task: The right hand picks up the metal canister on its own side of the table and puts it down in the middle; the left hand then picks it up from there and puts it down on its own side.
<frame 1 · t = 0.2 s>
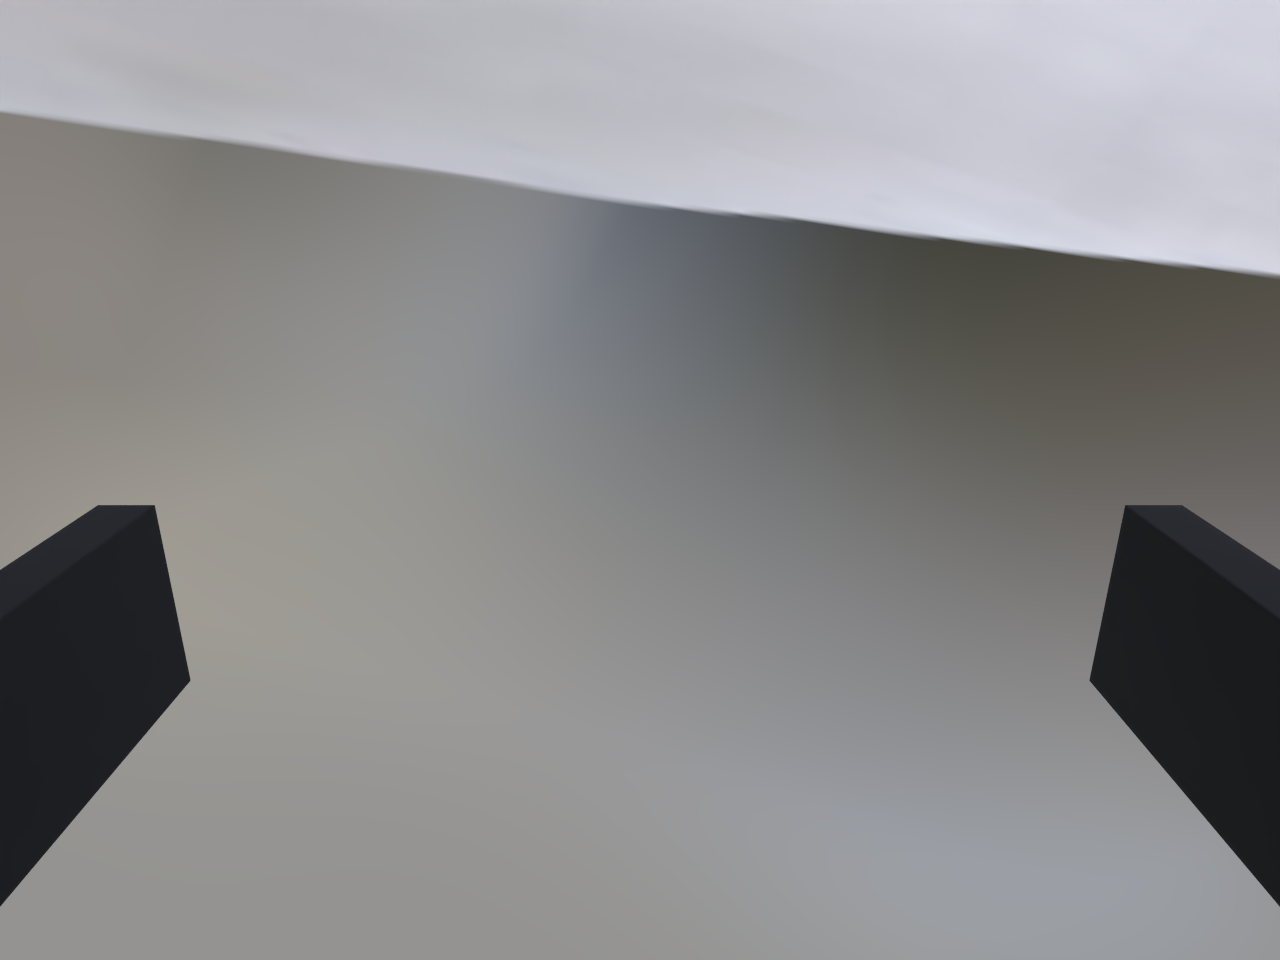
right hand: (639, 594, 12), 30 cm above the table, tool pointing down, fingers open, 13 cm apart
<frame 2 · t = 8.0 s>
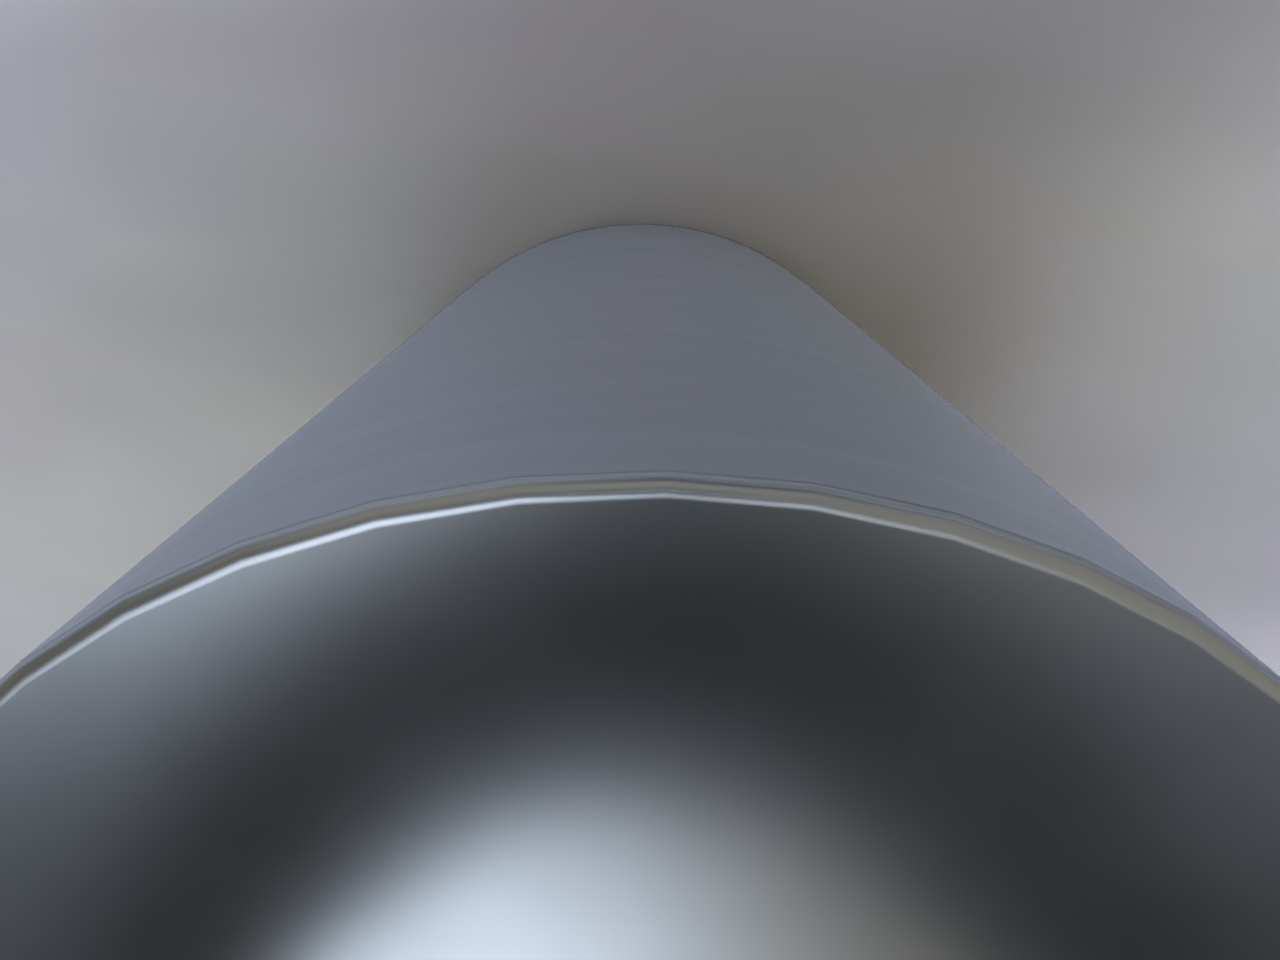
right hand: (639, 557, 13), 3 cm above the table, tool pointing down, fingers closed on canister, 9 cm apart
canister: (640, 478, 17), on the table, touching right hand
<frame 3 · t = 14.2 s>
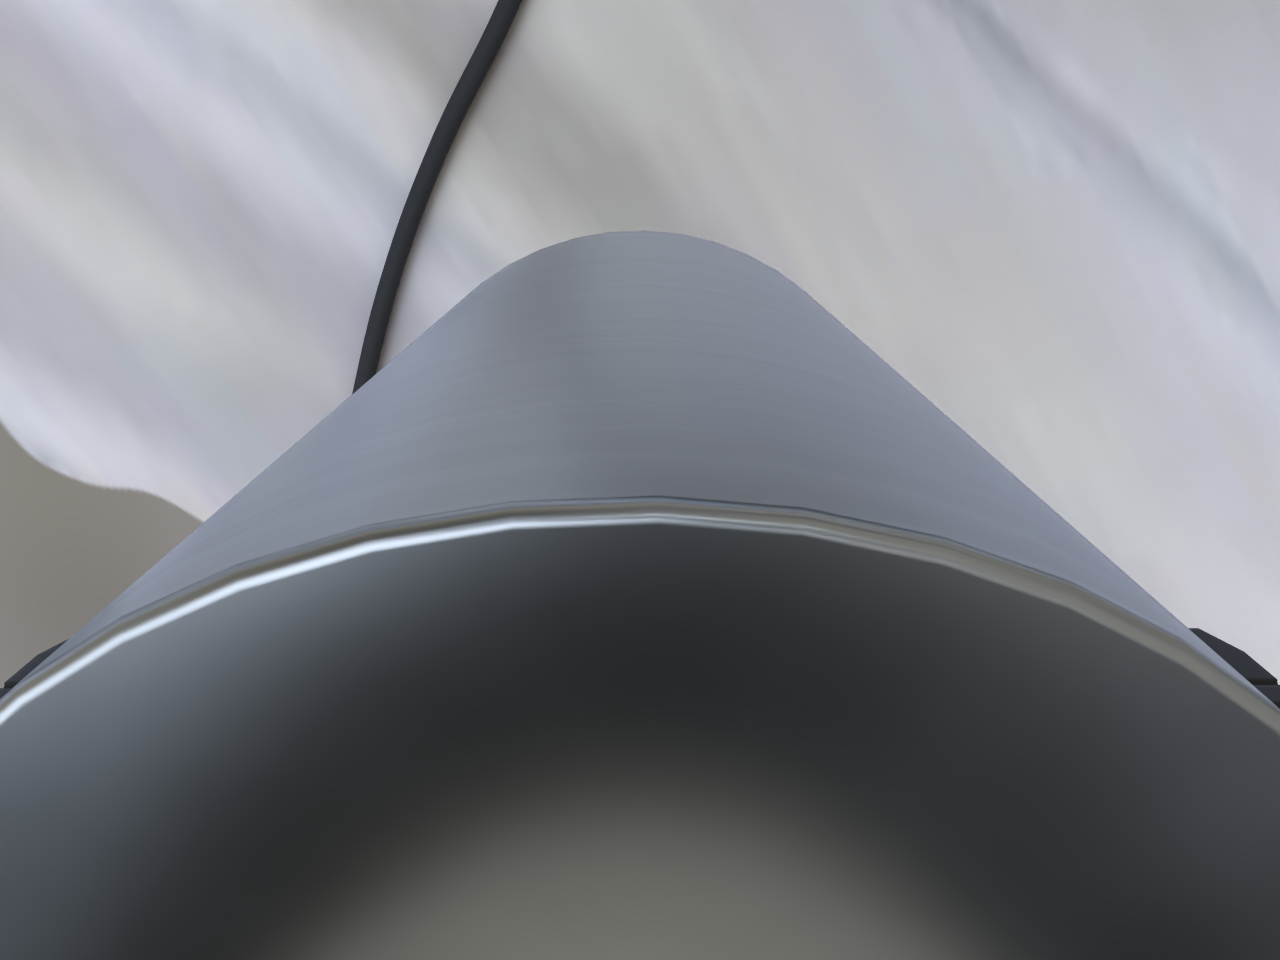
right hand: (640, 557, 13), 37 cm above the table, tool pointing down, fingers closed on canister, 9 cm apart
canister: (638, 483, 17), point 34 cm above the table, touching right hand
when the right hand's fingers open (5 cm above the table, at t = 20.5 s): canister drops 2 cm, on the table.
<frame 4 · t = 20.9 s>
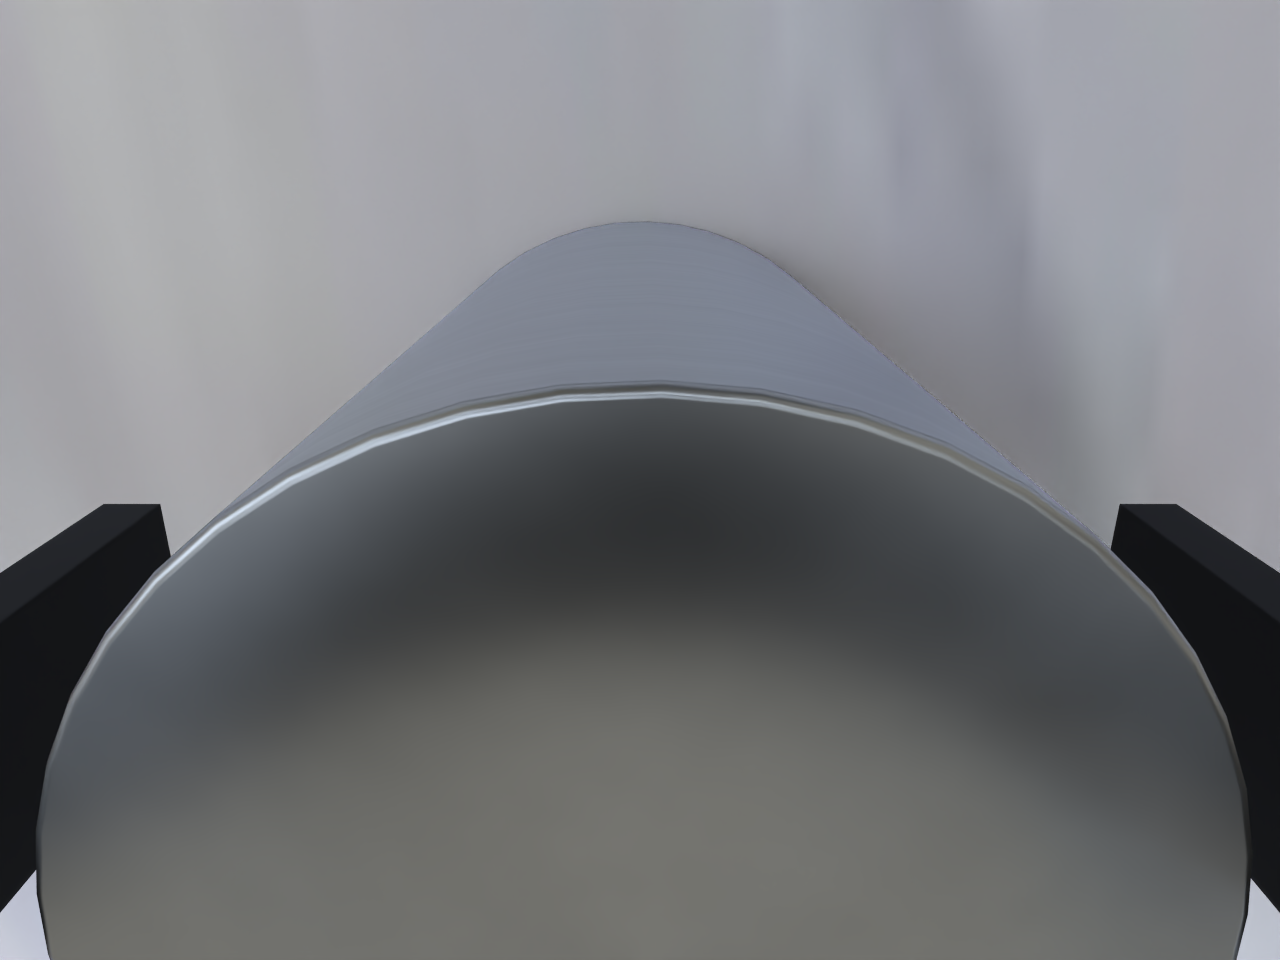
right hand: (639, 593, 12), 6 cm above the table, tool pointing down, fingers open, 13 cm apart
canister: (641, 452, 18), on the table
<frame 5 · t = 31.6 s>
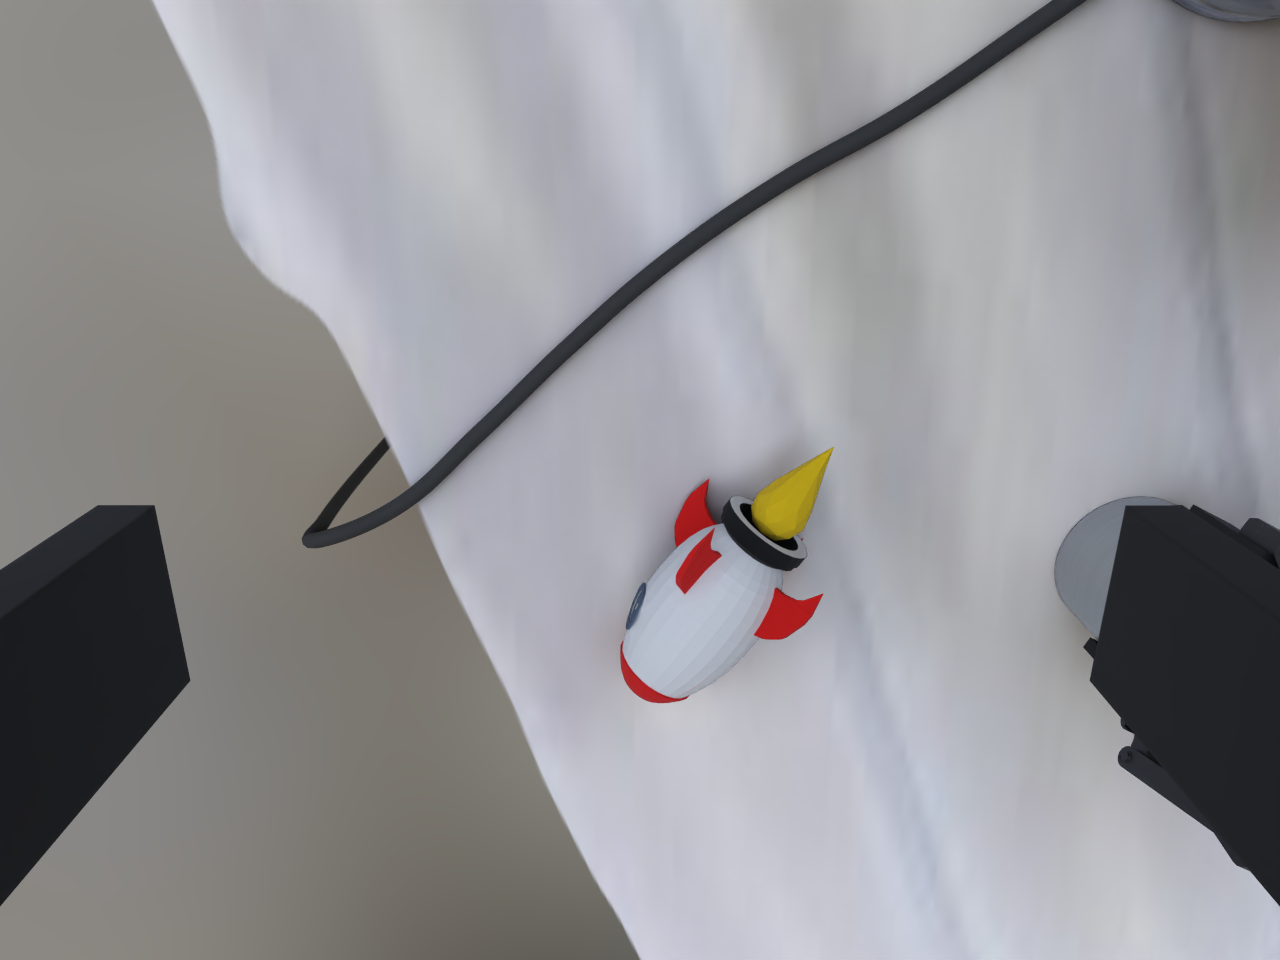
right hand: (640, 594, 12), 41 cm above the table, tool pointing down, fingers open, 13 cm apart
toy rocket 2: (722, 549, 57), on the table
canister: (1126, 562, 57), on the table, touching left hand
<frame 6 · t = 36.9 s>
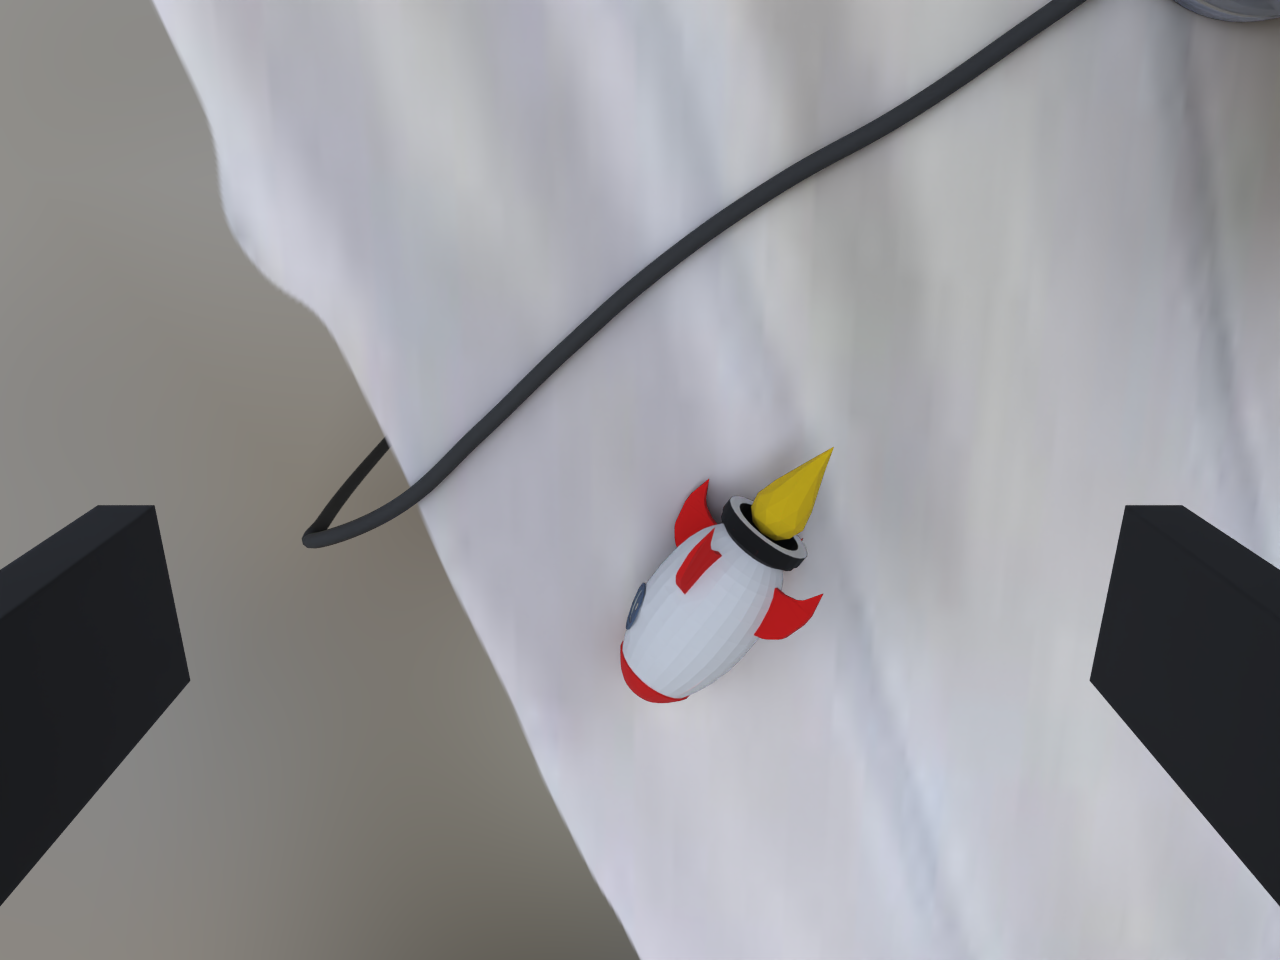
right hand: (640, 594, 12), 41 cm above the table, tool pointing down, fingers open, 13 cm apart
toy rocket 2: (722, 549, 57), on the table
when the left hand's fingers open (5 cm above the table, at t = 42.5 s): canister drops 2 cm, on the table.
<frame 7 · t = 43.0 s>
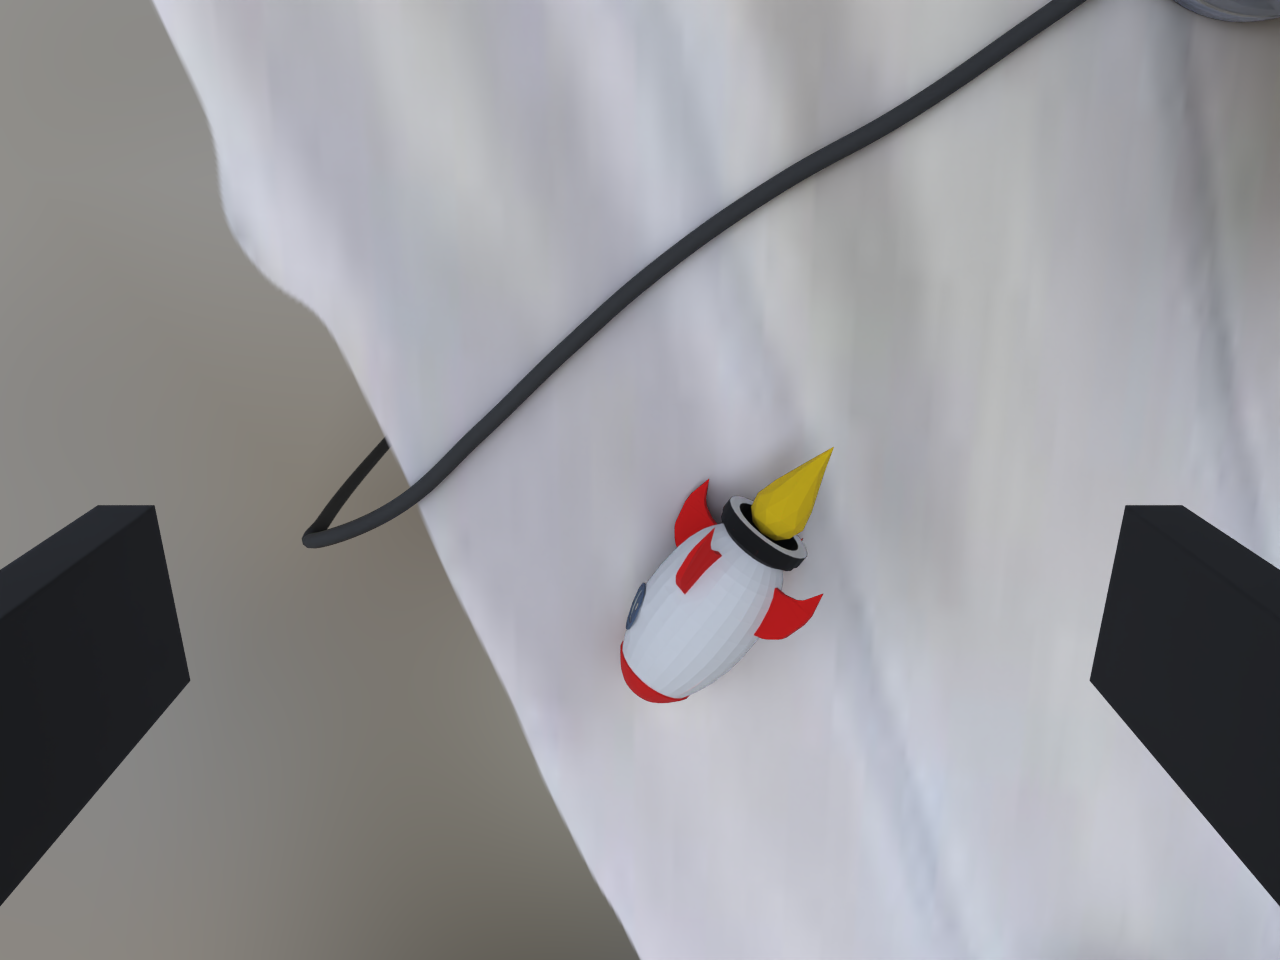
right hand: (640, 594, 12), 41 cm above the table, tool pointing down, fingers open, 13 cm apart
toy rocket 2: (722, 549, 57), on the table
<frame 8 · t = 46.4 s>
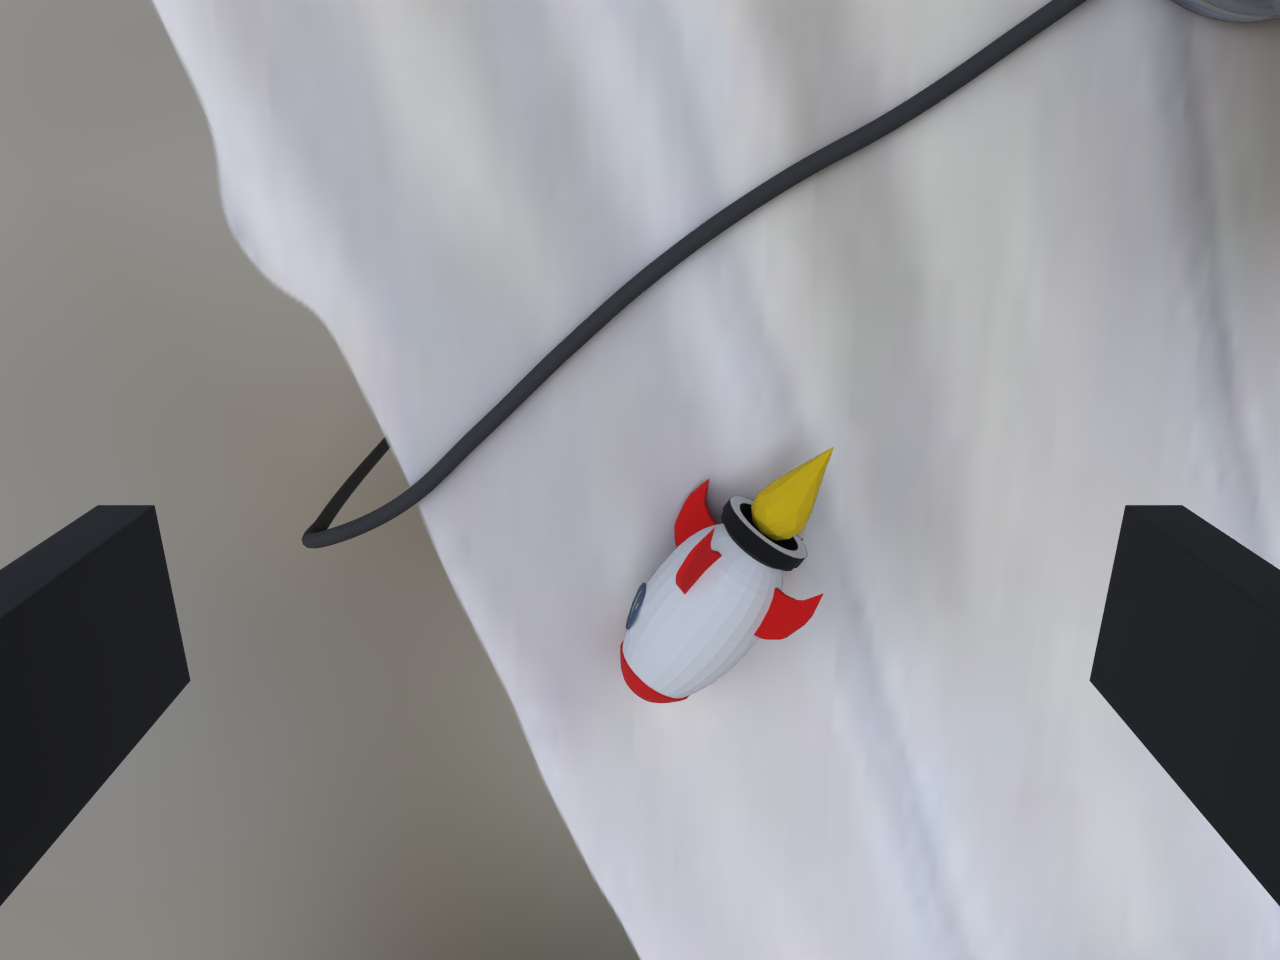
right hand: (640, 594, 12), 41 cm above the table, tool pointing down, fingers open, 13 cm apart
toy rocket 2: (722, 549, 57), on the table
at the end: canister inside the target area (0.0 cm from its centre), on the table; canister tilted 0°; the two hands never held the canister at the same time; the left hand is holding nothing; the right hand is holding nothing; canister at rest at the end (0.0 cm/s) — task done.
